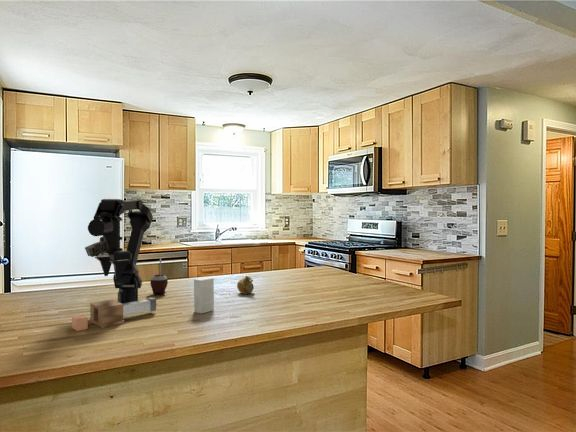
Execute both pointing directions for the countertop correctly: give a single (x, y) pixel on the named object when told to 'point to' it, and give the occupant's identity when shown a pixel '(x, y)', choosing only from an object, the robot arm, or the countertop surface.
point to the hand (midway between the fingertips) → (111, 277)
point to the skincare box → (203, 294)
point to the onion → (245, 285)
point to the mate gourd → (159, 283)
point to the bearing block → (106, 313)
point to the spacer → (79, 322)
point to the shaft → (139, 306)
